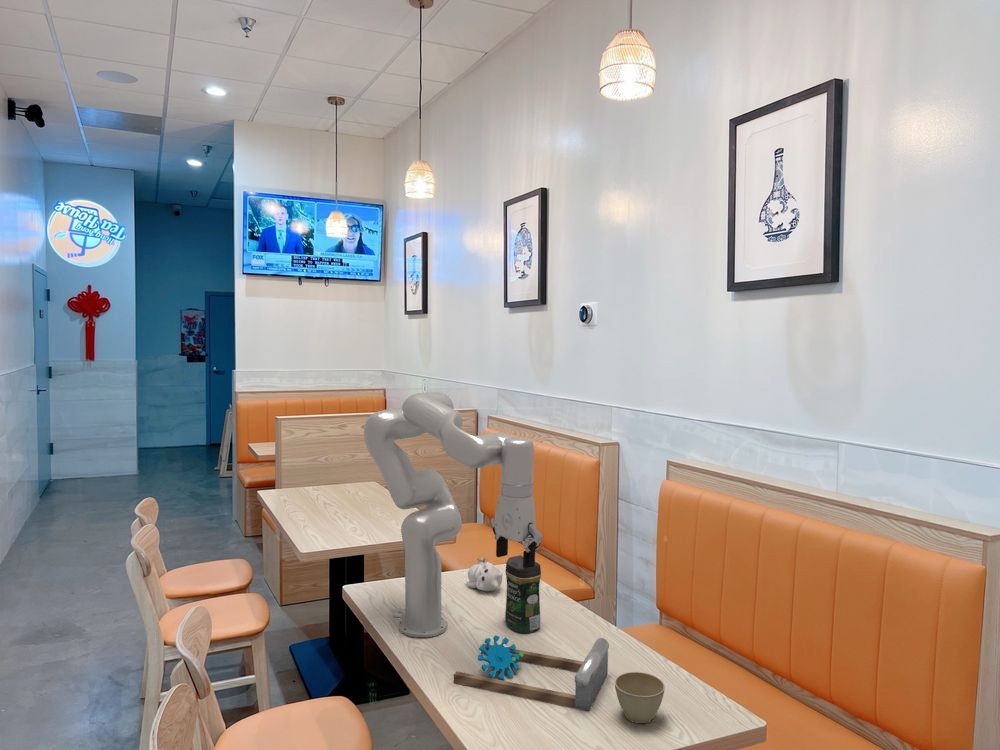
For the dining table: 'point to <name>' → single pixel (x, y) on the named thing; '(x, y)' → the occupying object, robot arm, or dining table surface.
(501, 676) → the gear
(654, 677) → the flower pot
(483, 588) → the cat figurine
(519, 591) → the coffee jar
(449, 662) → the dining table surface
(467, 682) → the guide
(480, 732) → the dining table surface
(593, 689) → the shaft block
